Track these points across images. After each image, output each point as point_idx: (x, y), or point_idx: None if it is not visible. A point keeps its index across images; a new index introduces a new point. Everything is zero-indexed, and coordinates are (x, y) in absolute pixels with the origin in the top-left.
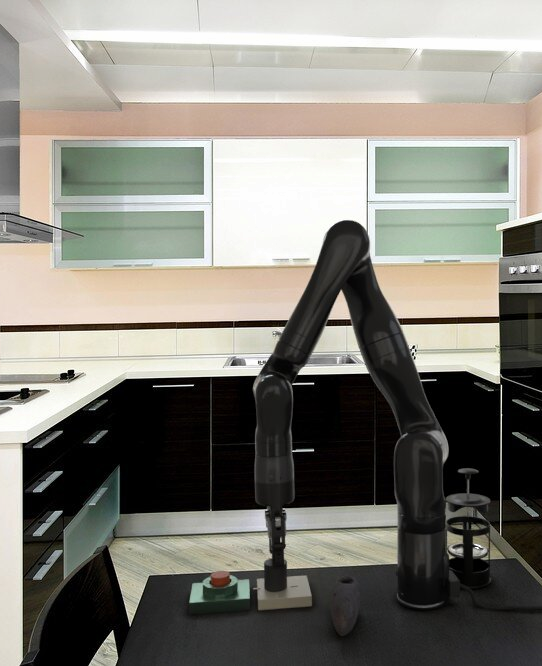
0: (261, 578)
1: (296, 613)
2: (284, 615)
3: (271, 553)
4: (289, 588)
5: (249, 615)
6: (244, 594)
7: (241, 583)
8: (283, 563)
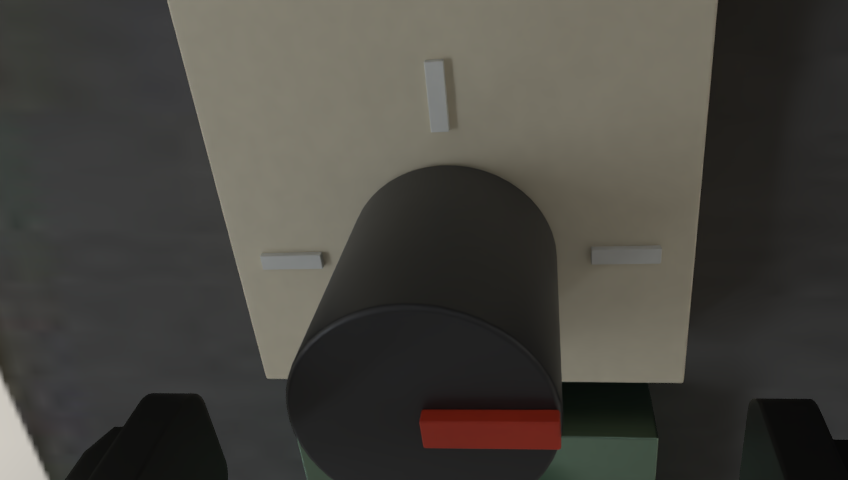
0: (261, 350)
1: (812, 50)
2: (818, 152)
3: (226, 470)
4: (484, 141)
5: (733, 380)
6: (577, 466)
7: None
8: (834, 449)
